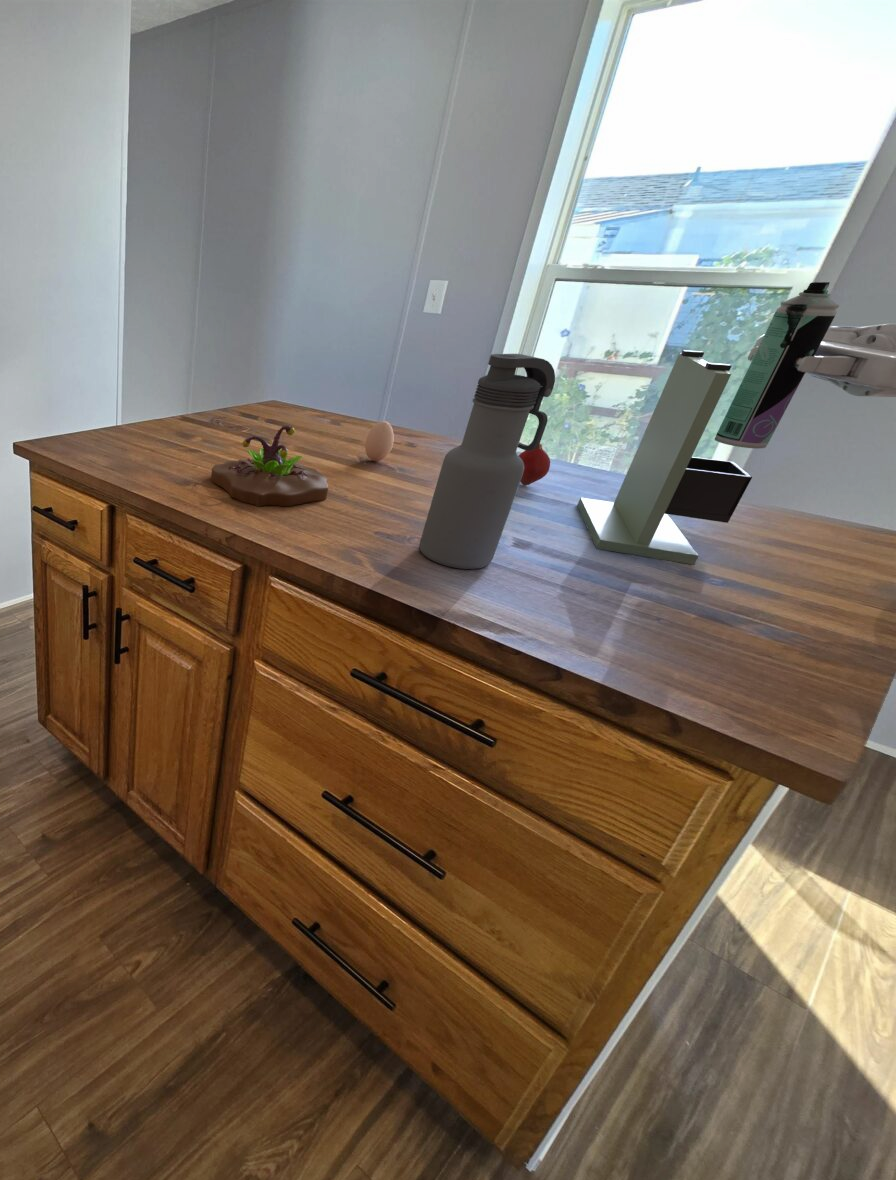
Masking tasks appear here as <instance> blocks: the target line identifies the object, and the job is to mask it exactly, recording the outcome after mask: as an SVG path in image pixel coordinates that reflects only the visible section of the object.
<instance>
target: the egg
mask: <svg viewBox="0 0 896 1180" xmlns="http://www.w3.org/2000/svg"><path fill="white" fill-rule="evenodd" d="M394 442H395V435H394V430H393V427H392V425H391V423H389V422H388V421H386V420H381V421H379V422H376V423H375V424H374V425H373V426H372V427H371V428H370V430H369V431H368V434H367V436H366V439H365V443H364V449H365V451H364V452H365V454H366V456H367V458H368V459H369V460H371V461H372V462H381V461H382V460H384V459H385V458H386V457H388V455H389V454H390V453H391V451H392V450H393V446H394Z"/></svg>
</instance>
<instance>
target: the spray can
mask: <svg viewBox="0 0 896 1180" xmlns="http://www.w3.org/2000/svg"><path fill="white" fill-rule="evenodd" d="M830 284H831V282H830V281H829V282H828V281H821V282H820V281H819V282H817V281H814V282H810V283H809V284H808V286H807V288H806V289H803V291H802V292H801V291H800V292H798V295H797V296H794V297H791V298H789V299H786V300H784V301H781V302H780V306H779V307H777V308H776V309H775V312H774V314H773V316H772V318H771V321H770V323H769V325H768V326H767V329H766V331H765V333H764V334H763V335H764V337H763V339H762V341H761V343H760V345H759V347H758V349H757V351H756V353H755V356H754V358H753V360H752V362H751V361H750V364H749V366H748V368H747V370H746V372H745V374H744V376H743V379H742V381H741V383H740V384H739V387H738V389H737V391H736V392H735V395H734V397H733V399H732V402H731V403H730V406H729V408H728V410H727V411H726V414H725V415H724V418H723V420H722V422H721V424H720V426H719V429H718V430H717V433H716V434H715V437H714V441H716V442H718V443H720V444H724V445H728V446H732V447H738V448H744V449H758V450H759V449H766V448H767V447H768V445H769V443H770V442H771V439H772V437H773V436H774V434H775V431H776V429H777V428H778V426H779V424H780V422H781V421H782V420H781V419H782V418H783V416H784V414H785V412H786V411H787V408H788V407H789V404H790V403H791V401H792V399H793V397H794V395H795V393H796V392H797V389H798V387H799V386H800V384H801V382H802V380H803V378H804V377H805V375H806V374H805V372H801V371H796V370H793V369H791V366H792V364H793V363H794V360H795V358H796V357H797V356H799V355H813V356H814V355H815V353H816V351H817V349H818V348H819V346H820V344H821V342H822V340H823V338H824V336H825V334H826V332H827V330H828V329H829V327H831V326H832V323H833V321H834V319H835V317H836V315H837V314H838V312H837V309H838V308H839V307H840V304H838V303H837V302H835V301H834V300H833V299H832V298H830V297H831V294H832V293H828V292H829V290H828V288H829V286H830Z"/></svg>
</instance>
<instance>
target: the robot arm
mask: <svg viewBox="0 0 896 1180" xmlns="http://www.w3.org/2000/svg"><path fill="white" fill-rule="evenodd" d="M764 335H765V334H762V335H760V336H759V337H758V338H757V340H756V342H755V343H754V346H753V347H752V348H751V350H750V351H749V354H748V356H747V360H748V361H749V362H750V363H751V362H752V360H753V358H754V356H755V353H756V351H757V349H758V347H759V345H760V343H761V341H762V339H763V337H764ZM791 369H793V370H796V371H801V372H805V374H804V375H808V376H810V377H813V378H817V379H820V380H823V381H826V382H828V383H831V384H832V385H834V386H836V387H838V388H840V389H841V390H843V391H844V392H846V393H847V394H849V395H852V396H855V397H869V398H871V397H873V398H875V397H877V398H896V323H883V324H874V325H867V326H851V325H850V326H849V325H847V326H846V325H830V327H829V329H828V330H827V332H826V334H825V336H824V338H823V340H822V342H821V344H820V346H819V348H818V349H817V351H816V353H815V355H814V356H813V355H799V356H797V357H796V358H795V360H794V363H793V364H792V366H791Z"/></svg>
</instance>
